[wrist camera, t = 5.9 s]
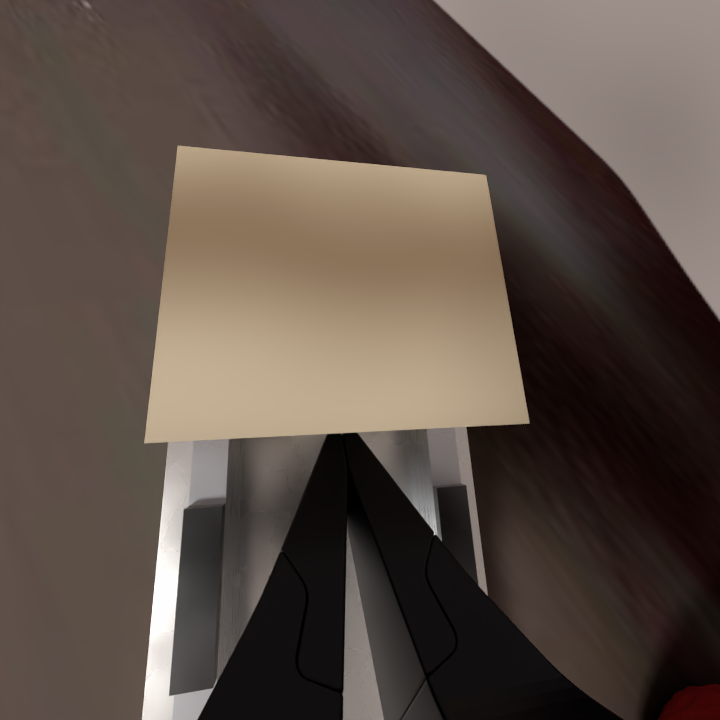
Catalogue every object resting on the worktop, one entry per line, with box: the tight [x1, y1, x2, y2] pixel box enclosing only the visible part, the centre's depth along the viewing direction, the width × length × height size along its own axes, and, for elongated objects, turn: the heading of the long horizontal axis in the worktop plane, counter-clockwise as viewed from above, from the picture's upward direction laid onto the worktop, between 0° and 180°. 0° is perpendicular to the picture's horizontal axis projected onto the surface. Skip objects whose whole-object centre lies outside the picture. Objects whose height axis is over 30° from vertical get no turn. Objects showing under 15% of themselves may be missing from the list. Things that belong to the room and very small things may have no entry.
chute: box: [142, 427, 488, 720], centre depth 12 cm, size 26×14×4 cm, turn 3°
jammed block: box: [145, 146, 530, 443], centre depth 10 cm, size 6×7×9 cm
